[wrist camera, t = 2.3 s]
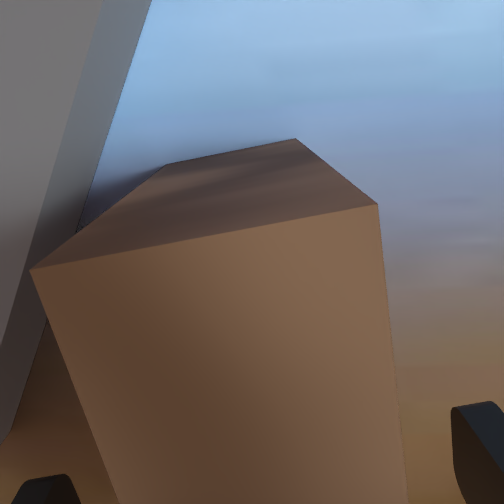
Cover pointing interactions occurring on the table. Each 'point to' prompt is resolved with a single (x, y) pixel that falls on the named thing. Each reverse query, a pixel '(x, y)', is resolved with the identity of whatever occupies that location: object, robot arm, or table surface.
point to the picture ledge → (50, 148)
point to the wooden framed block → (234, 335)
